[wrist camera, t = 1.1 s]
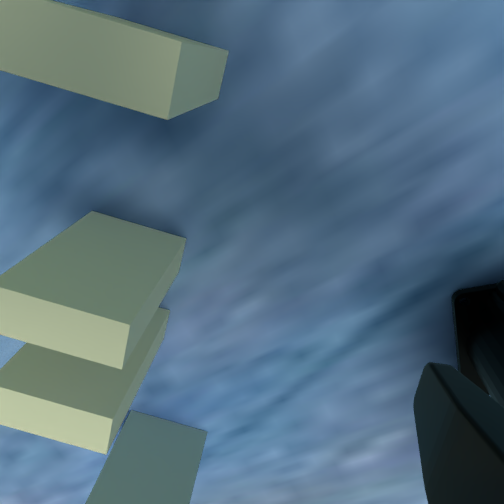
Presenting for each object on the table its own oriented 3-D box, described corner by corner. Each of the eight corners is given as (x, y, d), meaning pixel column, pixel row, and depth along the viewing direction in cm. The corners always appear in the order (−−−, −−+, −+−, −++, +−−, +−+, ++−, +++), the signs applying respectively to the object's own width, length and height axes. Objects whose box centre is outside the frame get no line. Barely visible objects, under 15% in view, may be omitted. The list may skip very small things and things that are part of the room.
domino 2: (92, 210, 22) (-12, 284, 15) (186, 238, 22) (129, 325, 15) (87, 245, 23) (-13, 330, 15) (178, 272, 23) (121, 369, 16)
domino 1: (115, 16, 18) (-8, -15, 11) (228, 50, 18) (182, 41, 11) (109, 66, 19) (-9, 67, 12) (218, 98, 19) (167, 120, 12)
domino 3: (82, 285, 24) (-14, 383, 17) (170, 310, 24) (112, 419, 17) (79, 314, 25) (-14, 420, 17) (163, 338, 25) (106, 454, 17)
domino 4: (131, 409, 27) (68, 537, 20) (207, 431, 27) (173, 566, 20) (126, 432, 28) (65, 562, 21) (200, 453, 28) (165, 590, 21)
